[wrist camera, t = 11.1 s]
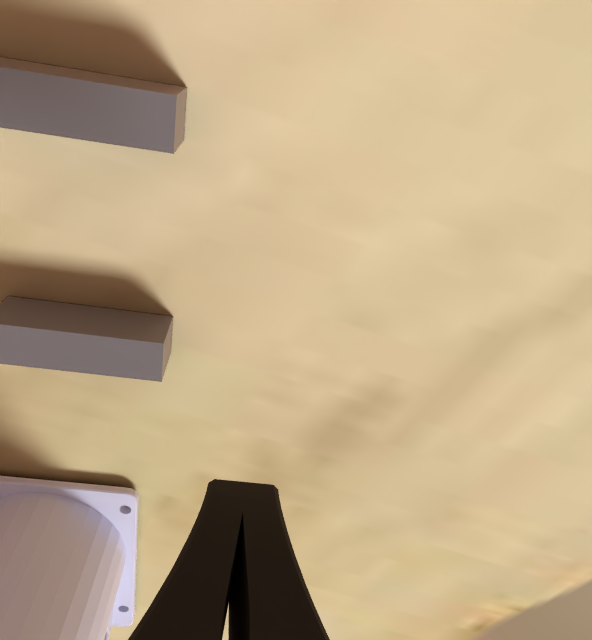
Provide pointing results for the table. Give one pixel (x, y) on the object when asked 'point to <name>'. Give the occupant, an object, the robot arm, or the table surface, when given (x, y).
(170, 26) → the table surface
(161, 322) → the grey u-shaped piece
